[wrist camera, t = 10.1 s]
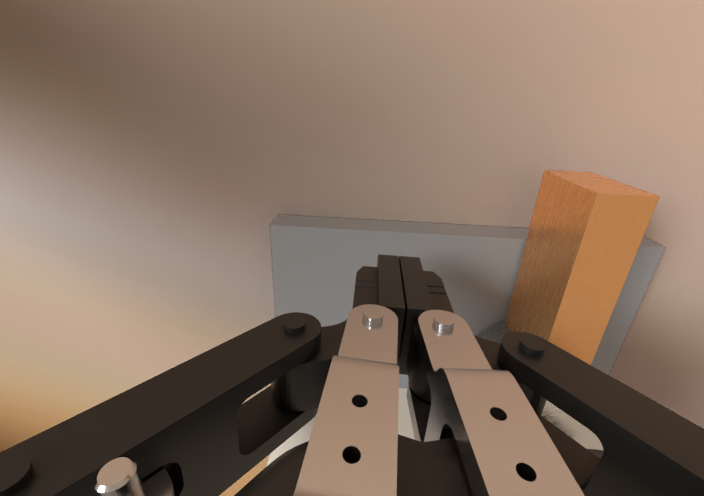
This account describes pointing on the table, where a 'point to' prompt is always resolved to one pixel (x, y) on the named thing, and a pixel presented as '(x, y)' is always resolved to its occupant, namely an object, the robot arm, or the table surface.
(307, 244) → the levelling plate
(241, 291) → the table surface
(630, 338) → the table surface
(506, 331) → the knob
